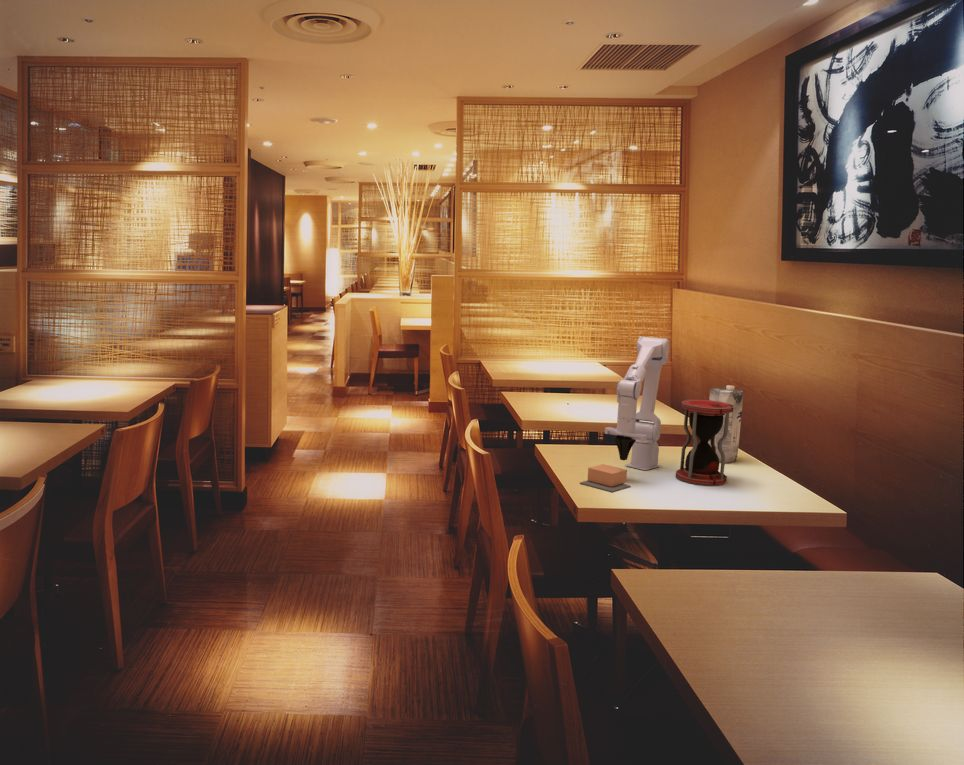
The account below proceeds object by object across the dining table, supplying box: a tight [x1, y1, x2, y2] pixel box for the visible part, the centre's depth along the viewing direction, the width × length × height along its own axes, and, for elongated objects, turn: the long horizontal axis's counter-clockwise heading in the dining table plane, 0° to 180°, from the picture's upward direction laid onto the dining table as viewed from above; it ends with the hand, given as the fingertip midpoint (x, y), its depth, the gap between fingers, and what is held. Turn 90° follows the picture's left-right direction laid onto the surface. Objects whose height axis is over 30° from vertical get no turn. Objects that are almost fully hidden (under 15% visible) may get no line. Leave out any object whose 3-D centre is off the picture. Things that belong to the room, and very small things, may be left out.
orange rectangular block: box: [587, 463, 628, 487], centre depth 262 cm, size 4×9×8 cm
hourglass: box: [675, 399, 733, 487], centre depth 272 cm, size 16×16×25 cm
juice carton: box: [708, 385, 744, 464], centre depth 300 cm, size 9×10×27 cm
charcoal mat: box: [579, 479, 632, 493], centre depth 261 cm, size 10×12×1 cm
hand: (623, 459), depth 268 cm, fingers closed
